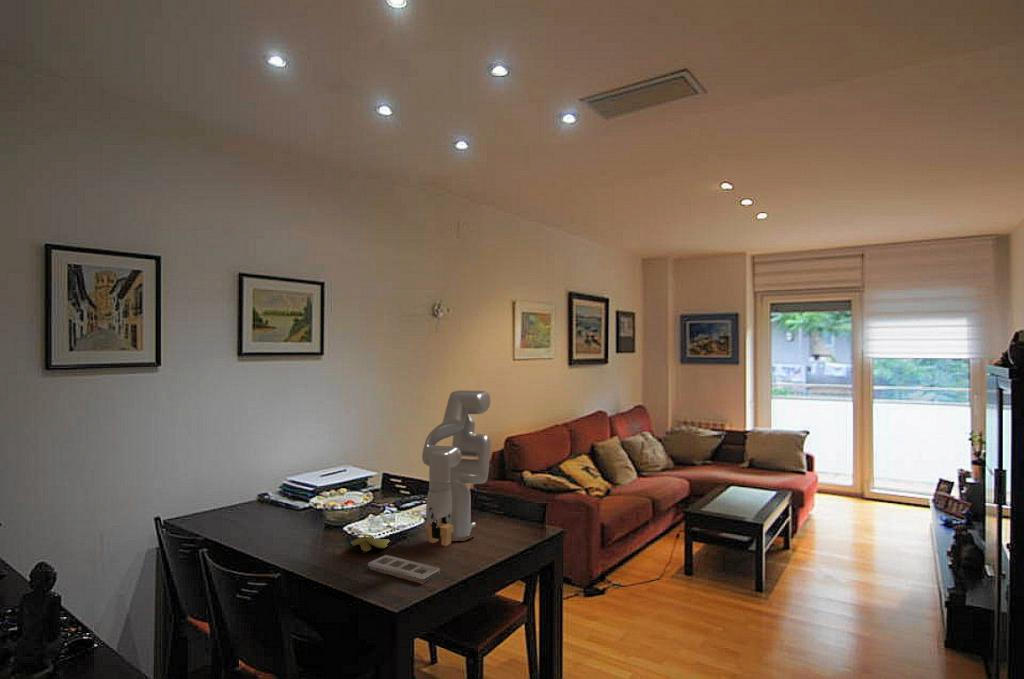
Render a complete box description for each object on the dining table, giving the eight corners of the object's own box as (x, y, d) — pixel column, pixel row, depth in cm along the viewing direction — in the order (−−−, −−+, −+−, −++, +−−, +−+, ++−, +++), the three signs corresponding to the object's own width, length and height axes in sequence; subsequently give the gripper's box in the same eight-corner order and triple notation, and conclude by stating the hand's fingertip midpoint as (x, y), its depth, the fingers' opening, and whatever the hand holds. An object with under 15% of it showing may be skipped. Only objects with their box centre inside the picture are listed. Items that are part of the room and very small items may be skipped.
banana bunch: (372, 532, 243) (392, 523, 241) (378, 549, 241) (399, 540, 239) (345, 544, 224) (367, 534, 222) (352, 563, 222) (374, 554, 220)
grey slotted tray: (385, 561, 217) (385, 554, 217) (439, 575, 205) (439, 568, 205) (368, 569, 209) (368, 562, 209) (422, 584, 197) (422, 577, 197)
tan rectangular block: (433, 538, 220) (433, 520, 220) (453, 543, 216) (453, 525, 216) (426, 542, 217) (426, 524, 217) (446, 546, 212) (446, 528, 212)
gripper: (445, 478, 225) (445, 527, 225) (416, 489, 210) (416, 541, 211) (461, 481, 221) (461, 530, 222) (433, 493, 206) (434, 545, 207)
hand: (439, 535), depth 216 cm, fingers closed on tan rectangular block, 3 cm apart
